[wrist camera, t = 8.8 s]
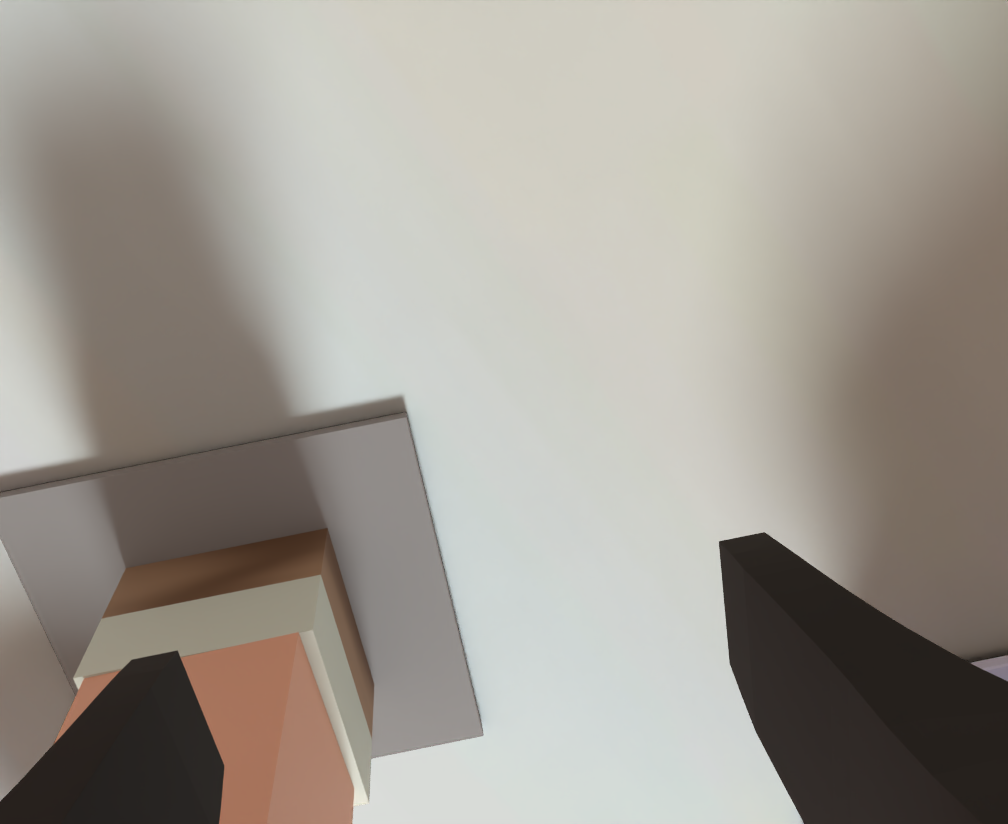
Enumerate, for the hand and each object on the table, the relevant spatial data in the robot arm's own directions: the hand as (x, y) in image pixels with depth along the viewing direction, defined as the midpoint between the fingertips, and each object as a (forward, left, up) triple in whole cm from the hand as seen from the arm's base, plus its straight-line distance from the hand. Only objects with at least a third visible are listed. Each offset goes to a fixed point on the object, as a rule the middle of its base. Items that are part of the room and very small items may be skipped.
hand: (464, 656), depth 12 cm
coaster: (+6, +6, -10) cm, 13 cm away
